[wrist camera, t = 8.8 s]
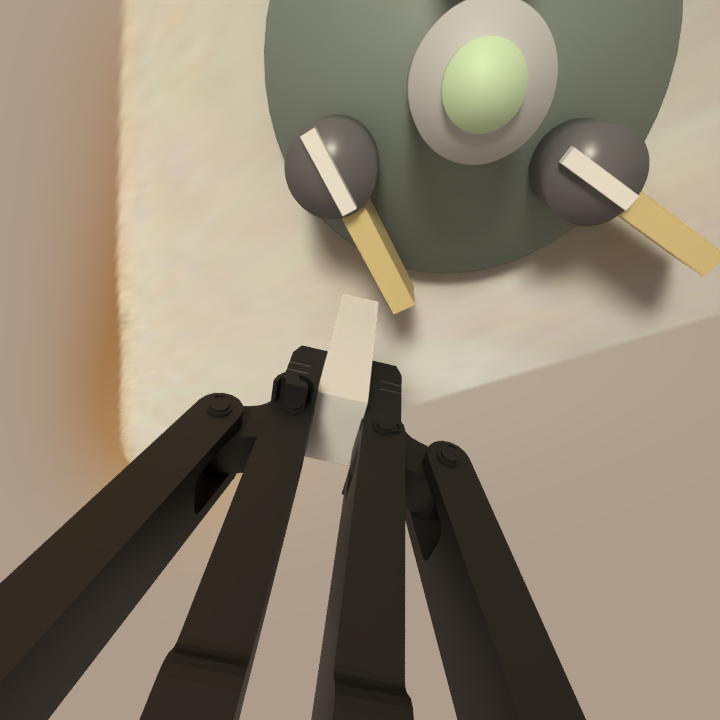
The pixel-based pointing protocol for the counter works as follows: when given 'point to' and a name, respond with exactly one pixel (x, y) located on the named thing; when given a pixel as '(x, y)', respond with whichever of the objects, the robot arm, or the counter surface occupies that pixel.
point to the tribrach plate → (408, 166)
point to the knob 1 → (347, 195)
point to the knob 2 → (610, 186)
